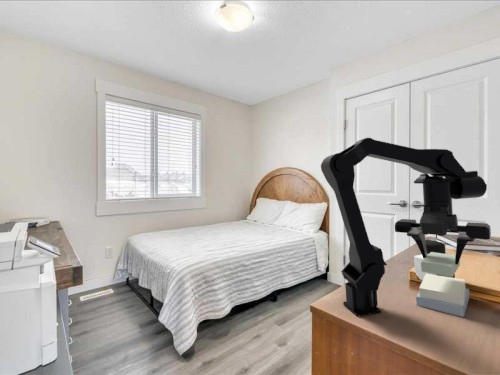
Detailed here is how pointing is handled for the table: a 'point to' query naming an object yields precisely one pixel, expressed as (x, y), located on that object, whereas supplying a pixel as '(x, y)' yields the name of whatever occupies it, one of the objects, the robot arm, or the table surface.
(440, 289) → the grey stepped block
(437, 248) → the medicine bottle
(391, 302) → the table surface
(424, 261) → the pale green stepped block
